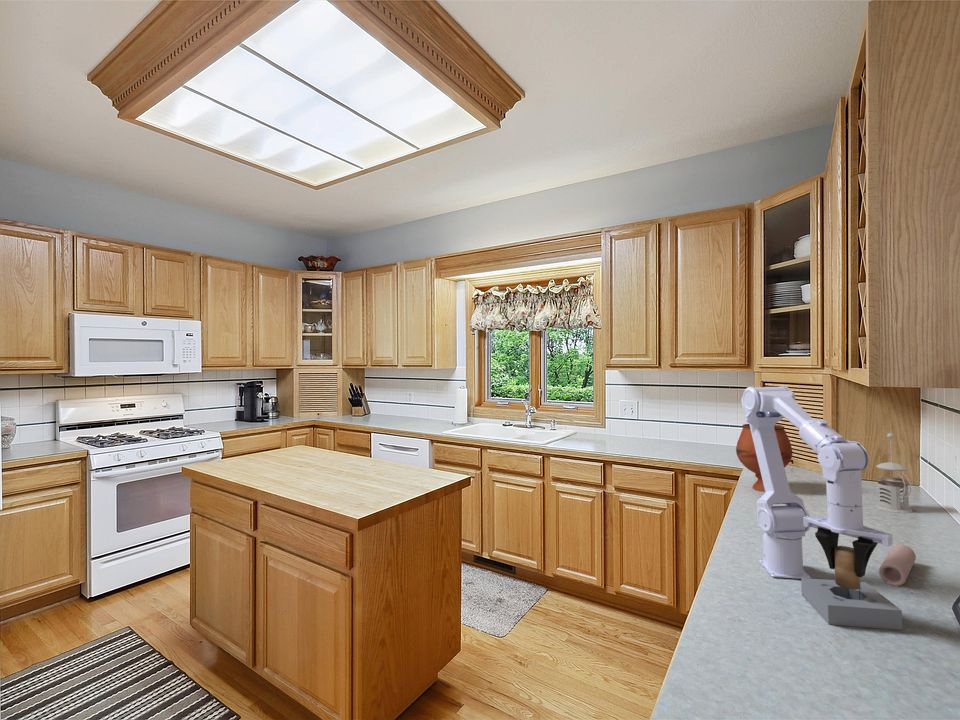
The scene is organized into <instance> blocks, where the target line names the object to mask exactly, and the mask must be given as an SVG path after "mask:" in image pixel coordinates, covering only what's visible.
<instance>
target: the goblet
mask: <svg viewBox="0 0 960 720" xmlns="http://www.w3.org/2000/svg"><path fill="white" fill-rule="evenodd" d="M741 427H742V430H741V432H740V435H739V437H738V440H737V443H736V448H735V451H736V452H735V453H736V456H737V458H738V460H739V462H740V463H741V464H742V465H743V466H744V467H745V468H747V469H748V471H751V472H752V473H754V474H755V475H754V476H755V477H756V478H757V480H756V481H755V483H753V485H752V487H751V488H752V490H753V489H754V490H756V491H758V492H759V491H760V492H765V488H764V484H763V480H762V476H761V472H760V467H759V463H758V459H757V455H756V451H755V446H754V442H753V438H752V434H751V429H750V425H749V423H744V424H742V426H741ZM774 429H775V433H776V437H777V441H778V445H779V449H780V453H781V457H782V461H783V465H784V468H786V467H787V466H788V465H789V464H790V462H791V460H792V457H793V448H792V443H791V441H790V438H789V437H788V434H787V432H786V429H785V426H784V425H780V424H777V423H776V424H775V426H774Z"/></svg>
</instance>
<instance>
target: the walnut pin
mask: <svg viewBox="0 0 960 720" xmlns="http://www.w3.org/2000/svg"><path fill="white" fill-rule="evenodd" d="M834 561H835V569H834V580H835V583H836V584H837V585H838V586H840V587H843V588H847V589H860V582H861V577H857V576H856V558H855V552H854V548H853V547H851V546H845V545H838V546H835V547H834Z"/></svg>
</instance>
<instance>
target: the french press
mask: <svg viewBox="0 0 960 720" xmlns="http://www.w3.org/2000/svg"><path fill="white" fill-rule="evenodd" d="M886 437H887V438H888V437H889V439H890V441H889V443H890V461H889V462H886V461H885V462H882V463H879V464H876V465H875V467H876V468H877V469H879V470H885V471H891V476H880V477H878V480H879V481H877V493H878V494H877V496H878V498H877V500H878V503H876V504H875V505H876V507H878V508H879V509H878V510H880V509H883V510H888V511H893V512H892V513H895V512H900V513H899V514H910V513H909V512H912V510H913V509H912V508H911V507H909V506H910V505H909V504H910V501H909V499H910V498H909V496H910V495H911V492H912V482H911V480H910V479H909V477H908V475H906V474H905V473H904V474H903V475H901V474H899V473H897V477H894V475H893V474H894V473H893V472H906V471H908V469H909V468H908V467H907V466H905V465H903V464H901V463H897V462H893V452H892V451H893V450H892V448H893V447H892V438H895V434H894V433H893V432H888V434H886ZM905 477H906V478H907V480H908V483H909V485H908V484H906V483H907V480H906V479H904V478H905ZM901 489H902V490H901ZM901 493H902V494H901ZM901 497H902V498H901ZM883 510H882V511H883ZM888 511H887V512H888ZM912 513H913V512H912Z"/></svg>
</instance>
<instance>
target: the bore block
mask: <svg viewBox="0 0 960 720" xmlns="http://www.w3.org/2000/svg"><path fill="white" fill-rule="evenodd" d="M800 581H801V582H800V584H801V596H802V597H803V598H804V599H805V600H806V601H807V602H808V603H809V605H810V606H811V607H812V608H813V609H814V610H815V611H816V612H817V613H818V615H819V616H821V617H822V619H824V621H825V622H826V623H827V624H828V625H834V626H848V627H860V628H874V629H881V630H882V629H884V630H885V629H886V630H896V631H903V617H902V616H903V615H902V614H903V613H902V612H903V611H902V609H900V608H899V607H898V606H896V605H895V604H894V603H893V602H891V601H890V600H889V599H888V598H886V597H885V596H884V595H883V594H882V593H880V591H878V590H876V589H875V588H874V587H873V586H871V585H870V584H869V583H867V582H866V581H860V589H847V588H843V587H840V586H838V585H837V584H836V583H835V579H824V578H823V579H822V578H820V579H819V578H811V579H808V578H801V580H800Z"/></svg>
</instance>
